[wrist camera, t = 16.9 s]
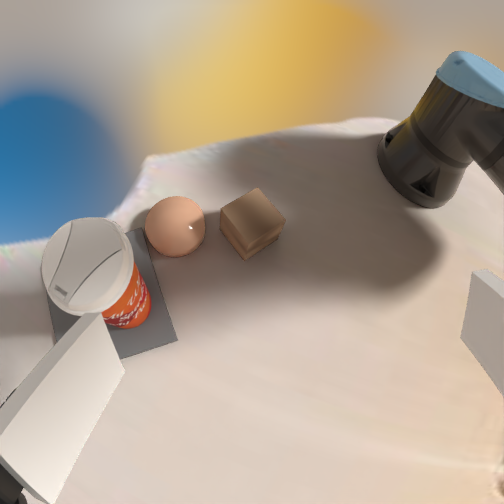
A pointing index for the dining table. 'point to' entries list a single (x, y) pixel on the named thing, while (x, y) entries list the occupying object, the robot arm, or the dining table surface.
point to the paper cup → (95, 273)
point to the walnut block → (251, 223)
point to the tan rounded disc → (175, 226)
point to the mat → (143, 336)
